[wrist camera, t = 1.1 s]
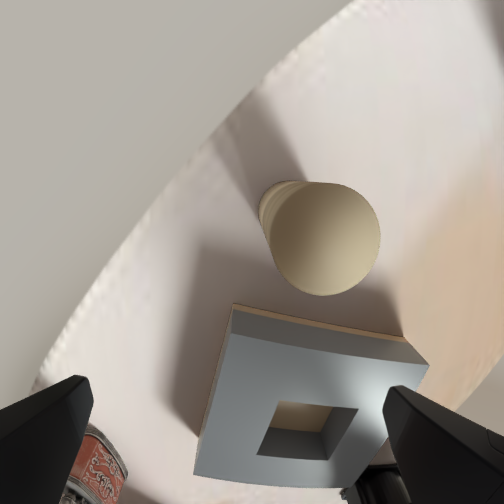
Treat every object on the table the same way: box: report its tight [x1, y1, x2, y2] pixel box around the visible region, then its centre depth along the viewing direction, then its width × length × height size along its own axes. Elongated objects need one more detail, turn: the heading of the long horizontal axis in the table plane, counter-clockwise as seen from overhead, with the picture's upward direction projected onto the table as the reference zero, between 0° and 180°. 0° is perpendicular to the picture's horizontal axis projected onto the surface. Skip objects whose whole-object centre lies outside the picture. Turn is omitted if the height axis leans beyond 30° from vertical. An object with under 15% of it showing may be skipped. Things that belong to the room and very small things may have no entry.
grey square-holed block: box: [193, 303, 430, 488], centre depth 22 cm, size 14×14×4 cm
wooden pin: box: [258, 181, 380, 296], centre depth 16 cm, size 4×4×10 cm
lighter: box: [60, 428, 128, 504], centre depth 21 cm, size 8×3×10 cm, turn 9°
